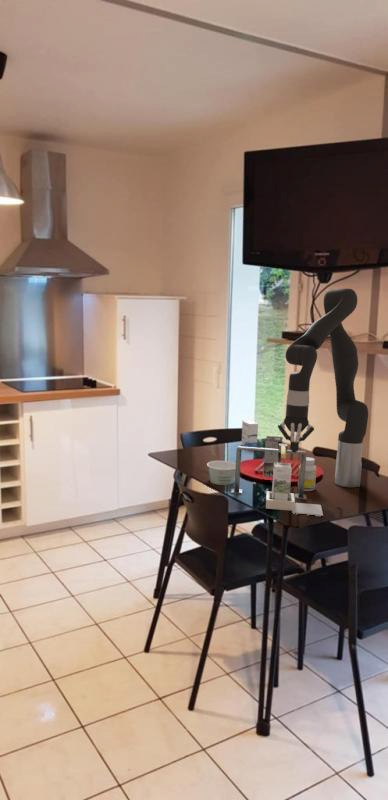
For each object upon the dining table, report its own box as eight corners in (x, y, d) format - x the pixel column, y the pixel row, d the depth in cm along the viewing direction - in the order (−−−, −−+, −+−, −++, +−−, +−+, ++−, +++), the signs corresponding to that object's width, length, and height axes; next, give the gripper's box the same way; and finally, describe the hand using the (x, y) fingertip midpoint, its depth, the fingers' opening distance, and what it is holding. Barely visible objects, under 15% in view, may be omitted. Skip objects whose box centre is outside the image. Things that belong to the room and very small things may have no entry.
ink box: (257, 448, 289) (258, 423, 287) (247, 448, 287) (248, 423, 285) (250, 443, 297) (251, 419, 295) (240, 444, 295) (242, 420, 293)
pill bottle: (302, 484, 235) (305, 455, 233) (318, 488, 231) (320, 459, 229) (294, 488, 230) (296, 458, 228) (309, 492, 226) (312, 462, 224)
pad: (320, 506, 211) (320, 504, 211) (322, 516, 202) (323, 514, 201) (291, 504, 212) (291, 502, 212) (292, 514, 203) (292, 512, 203)
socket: (293, 501, 215) (293, 493, 215) (294, 510, 206) (294, 502, 205) (266, 499, 216) (266, 491, 216) (265, 508, 207) (266, 499, 206)
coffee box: (279, 482, 237) (281, 441, 234) (262, 480, 238) (264, 440, 235) (280, 475, 245) (283, 436, 243) (264, 474, 247) (266, 435, 244)
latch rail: (306, 496, 222) (309, 450, 219) (306, 499, 218) (310, 453, 215) (231, 490, 225) (234, 445, 222) (230, 493, 221) (233, 447, 218)
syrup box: (287, 502, 214) (290, 462, 211) (288, 508, 208) (291, 467, 205) (270, 501, 214) (273, 461, 212) (272, 507, 208) (274, 466, 206)
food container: (213, 487, 227) (214, 470, 226) (201, 477, 238) (201, 461, 237) (242, 484, 232) (243, 468, 231) (229, 475, 243) (230, 459, 242)
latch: (287, 448, 219) (287, 444, 219) (287, 459, 205) (288, 454, 204) (278, 447, 219) (278, 443, 219) (278, 458, 205) (279, 453, 205)
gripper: (316, 402, 213) (312, 450, 216) (278, 399, 215) (274, 447, 218) (318, 406, 206) (313, 456, 209) (278, 403, 207) (274, 453, 210)
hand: (293, 451), depth 213 cm, fingers closed
